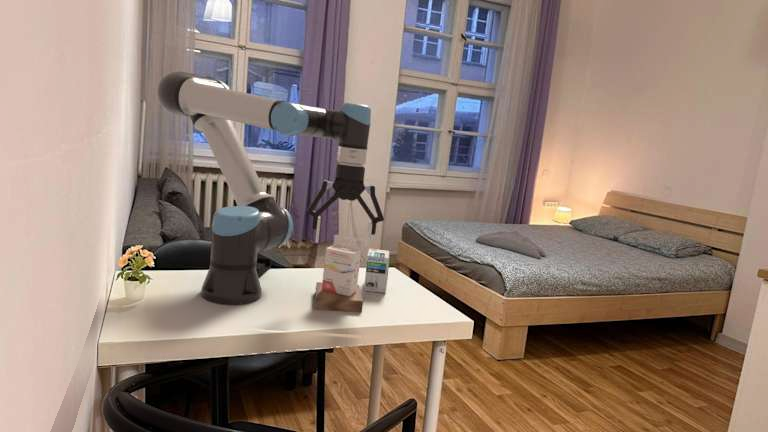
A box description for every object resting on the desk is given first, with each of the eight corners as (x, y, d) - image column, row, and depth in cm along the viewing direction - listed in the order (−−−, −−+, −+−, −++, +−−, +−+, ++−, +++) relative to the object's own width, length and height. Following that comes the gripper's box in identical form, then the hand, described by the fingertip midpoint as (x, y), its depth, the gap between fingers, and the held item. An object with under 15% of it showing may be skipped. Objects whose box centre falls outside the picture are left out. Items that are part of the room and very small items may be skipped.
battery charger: (257, 282, 153) (258, 269, 152) (225, 278, 153) (226, 264, 153) (270, 271, 165) (271, 258, 165) (240, 267, 166) (241, 255, 165)
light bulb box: (386, 293, 154) (389, 258, 152) (363, 291, 154) (366, 255, 152) (386, 283, 164) (390, 250, 163) (365, 281, 164) (368, 247, 163)
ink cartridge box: (320, 290, 140) (325, 236, 138) (328, 285, 145) (333, 233, 143) (350, 296, 138) (355, 242, 135) (357, 291, 142) (362, 239, 140)
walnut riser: (315, 309, 134) (316, 298, 134) (315, 292, 148) (316, 282, 147) (361, 312, 136) (363, 301, 135) (357, 295, 149) (358, 285, 149)
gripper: (302, 160, 131) (294, 242, 134) (400, 170, 134) (390, 251, 137) (303, 158, 138) (295, 236, 141) (396, 168, 141) (386, 244, 145)
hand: (342, 244), depth 139 cm, fingers open, 13 cm apart
